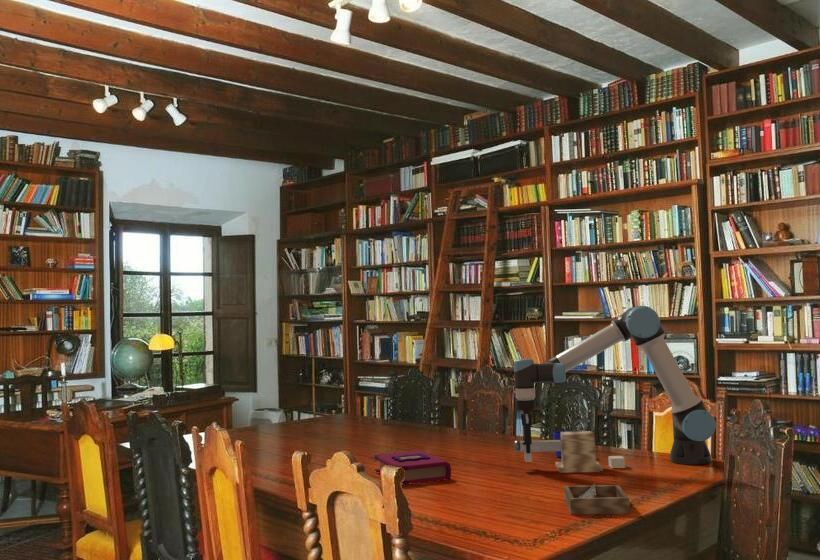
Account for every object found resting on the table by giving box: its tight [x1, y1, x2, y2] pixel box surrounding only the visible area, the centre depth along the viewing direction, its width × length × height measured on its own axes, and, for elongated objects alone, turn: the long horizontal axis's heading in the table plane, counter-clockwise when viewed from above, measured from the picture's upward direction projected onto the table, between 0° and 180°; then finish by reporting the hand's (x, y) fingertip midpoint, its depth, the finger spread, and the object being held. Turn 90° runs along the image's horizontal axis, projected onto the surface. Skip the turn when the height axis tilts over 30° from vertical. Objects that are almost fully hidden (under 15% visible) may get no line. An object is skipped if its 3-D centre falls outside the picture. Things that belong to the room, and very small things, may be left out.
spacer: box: [608, 455, 626, 469], centre depth 282 cm, size 5×5×4 cm
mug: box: [552, 430, 572, 459], centre depth 307 cm, size 8×12×10 cm
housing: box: [555, 430, 604, 474], centre depth 283 cm, size 16×14×13 cm
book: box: [374, 449, 452, 486], centre depth 282 cm, size 21×28×8 cm
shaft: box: [513, 439, 563, 453], centre depth 284 cm, size 28×4×4 cm, turn 84°
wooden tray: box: [563, 484, 631, 515], centre depth 226 cm, size 17×17×4 cm
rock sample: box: [578, 483, 599, 498], centre depth 229 cm, size 10×8×9 cm
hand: (528, 460), depth 285 cm, fingers closed on shaft, 4 cm apart
